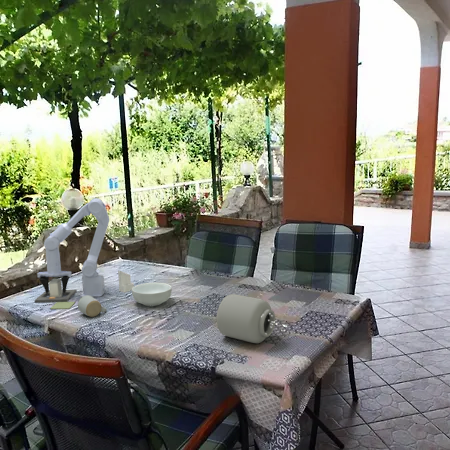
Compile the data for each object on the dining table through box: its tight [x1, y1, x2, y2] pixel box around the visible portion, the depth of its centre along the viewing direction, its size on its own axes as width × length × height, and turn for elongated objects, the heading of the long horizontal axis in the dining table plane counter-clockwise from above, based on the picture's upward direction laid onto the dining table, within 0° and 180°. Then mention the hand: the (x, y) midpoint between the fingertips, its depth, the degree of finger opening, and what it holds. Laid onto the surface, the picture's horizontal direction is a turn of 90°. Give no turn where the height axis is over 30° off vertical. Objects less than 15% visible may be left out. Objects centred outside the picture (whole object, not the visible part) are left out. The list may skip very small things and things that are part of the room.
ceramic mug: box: [77, 295, 107, 318], centre depth 186 cm, size 10×8×7 cm
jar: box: [216, 293, 288, 344], centre depth 157 cm, size 19×15×25 cm
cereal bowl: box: [131, 282, 173, 307], centre depth 198 cm, size 17×17×7 cm
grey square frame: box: [34, 289, 78, 304], centre depth 208 cm, size 14×14×2 cm
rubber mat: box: [49, 301, 76, 310], centre depth 197 cm, size 8×8×1 cm
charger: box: [49, 278, 63, 297], centre depth 208 cm, size 4×5×8 cm
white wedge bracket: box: [117, 270, 135, 294], centre depth 216 cm, size 4×10×9 cm, turn 146°
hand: (56, 292), depth 208 cm, fingers open, 7 cm apart
